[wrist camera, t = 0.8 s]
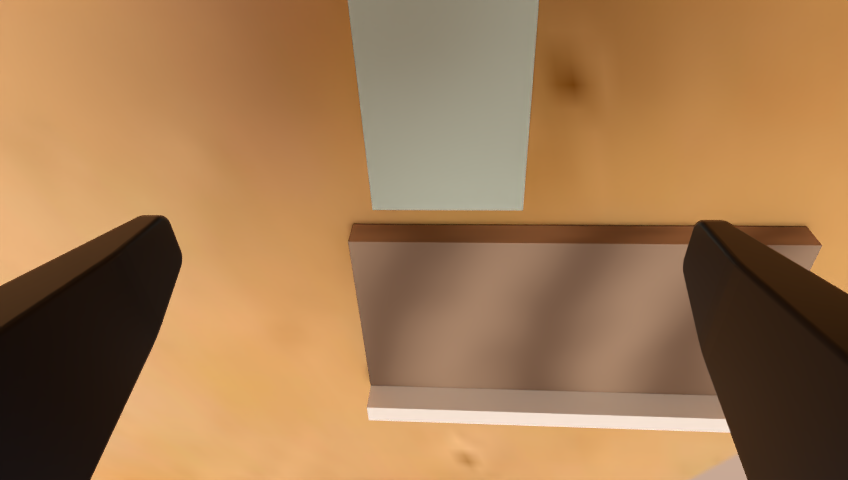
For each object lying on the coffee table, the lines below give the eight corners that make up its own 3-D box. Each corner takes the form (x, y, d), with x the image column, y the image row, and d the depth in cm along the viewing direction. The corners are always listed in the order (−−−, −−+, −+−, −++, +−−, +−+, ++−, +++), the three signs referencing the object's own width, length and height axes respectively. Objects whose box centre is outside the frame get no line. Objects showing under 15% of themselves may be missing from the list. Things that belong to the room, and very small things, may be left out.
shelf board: (806, 226, 22) (821, 245, 21) (732, 389, 28) (741, 409, 27) (353, 224, 23) (348, 241, 22) (376, 379, 29) (372, 398, 28)
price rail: (738, 376, 27) (759, 420, 25) (731, 391, 28) (751, 435, 26) (374, 366, 29) (366, 407, 27) (376, 381, 29) (369, 421, 27)
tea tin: (526, -85, 16) (543, -53, 12) (513, 133, 20) (522, 210, 16) (368, -79, 17) (335, -46, 13) (387, 134, 21) (367, 209, 17)
